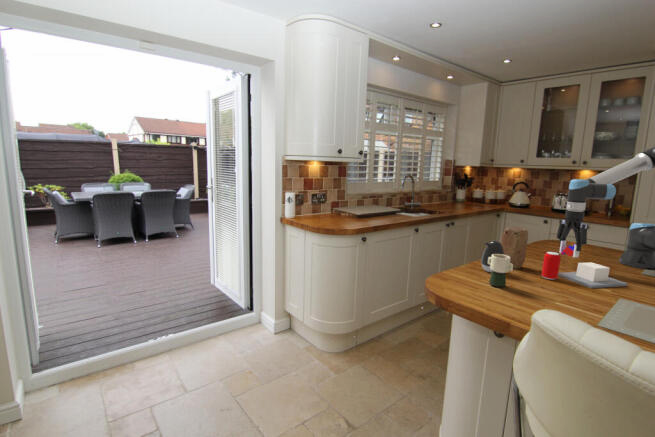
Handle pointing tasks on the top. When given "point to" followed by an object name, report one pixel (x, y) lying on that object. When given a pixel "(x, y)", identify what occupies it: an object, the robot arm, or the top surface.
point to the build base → (590, 283)
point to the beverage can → (551, 265)
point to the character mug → (499, 269)
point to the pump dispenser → (490, 253)
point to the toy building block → (568, 251)
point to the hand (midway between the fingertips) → (568, 254)
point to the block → (515, 245)
